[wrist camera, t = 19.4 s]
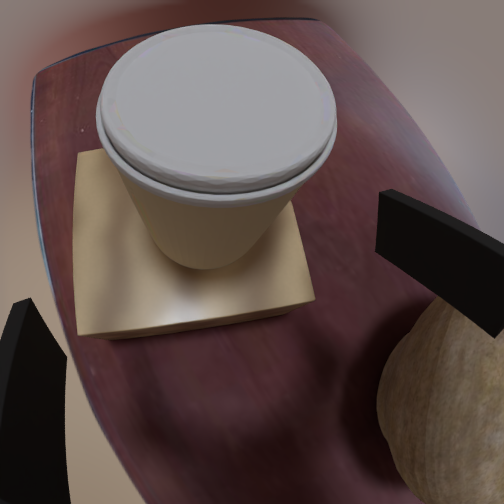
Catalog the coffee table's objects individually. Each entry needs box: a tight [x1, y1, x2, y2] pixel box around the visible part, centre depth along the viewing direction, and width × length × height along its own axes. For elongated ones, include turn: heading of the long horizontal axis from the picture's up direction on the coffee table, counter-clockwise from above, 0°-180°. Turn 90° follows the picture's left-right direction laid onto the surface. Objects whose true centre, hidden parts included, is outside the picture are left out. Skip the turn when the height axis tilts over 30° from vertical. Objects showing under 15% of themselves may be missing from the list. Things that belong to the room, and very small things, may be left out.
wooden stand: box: [73, 148, 315, 340], centre depth 24 cm, size 16×14×8 cm
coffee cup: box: [96, 25, 337, 270], centre depth 15 cm, size 9×9×12 cm
